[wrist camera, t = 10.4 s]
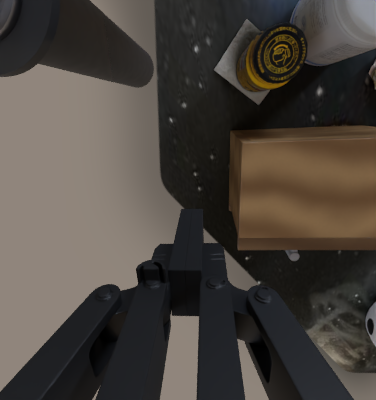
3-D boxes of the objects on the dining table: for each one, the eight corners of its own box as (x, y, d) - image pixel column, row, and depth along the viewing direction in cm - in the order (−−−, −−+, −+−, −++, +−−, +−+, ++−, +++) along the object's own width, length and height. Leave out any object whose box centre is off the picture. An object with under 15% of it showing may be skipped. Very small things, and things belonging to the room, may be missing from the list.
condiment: (258, 105, 36) (282, 105, 25) (213, 70, 34) (218, 53, 23) (292, 59, 33) (337, 37, 22) (246, 19, 32) (268, -26, 21)
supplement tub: (376, 15, 31) (513, -56, 17) (321, 82, 34) (398, 66, 20) (323, -38, 29) (427, -163, 16) (270, 37, 32) (318, -11, 19)
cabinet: (230, 130, 37) (242, 142, 25) (362, 125, 36) (442, 135, 24) (228, 209, 43) (238, 250, 31) (344, 207, 41) (401, 250, 29)
